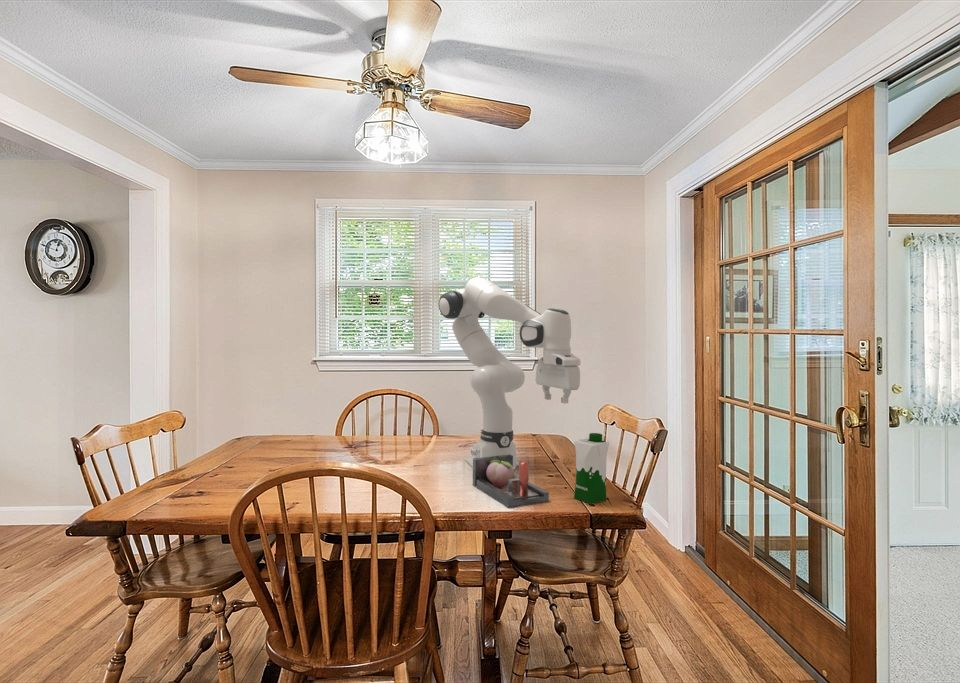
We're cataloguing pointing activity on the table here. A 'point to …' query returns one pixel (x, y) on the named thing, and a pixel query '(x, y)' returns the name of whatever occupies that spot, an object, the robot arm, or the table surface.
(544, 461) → the table surface
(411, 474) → the table surface
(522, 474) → the handle
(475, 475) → the press base
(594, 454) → the milk carton
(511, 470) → the decorative fruit
